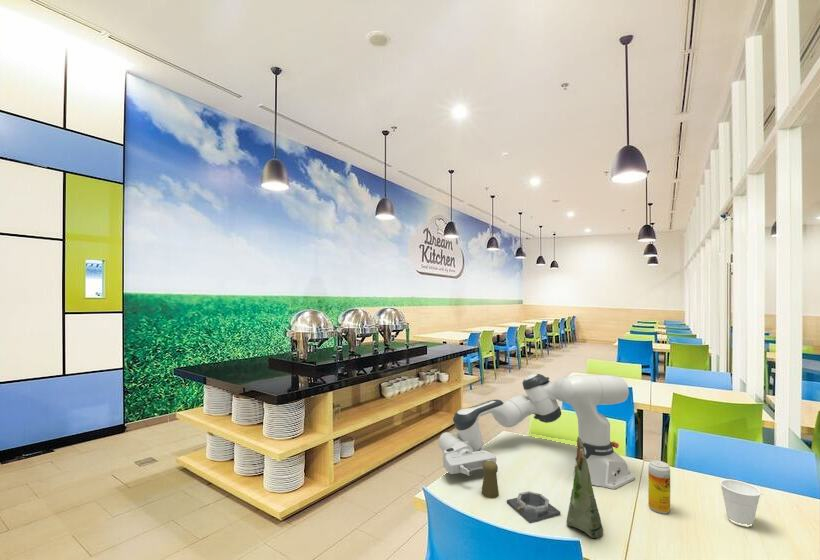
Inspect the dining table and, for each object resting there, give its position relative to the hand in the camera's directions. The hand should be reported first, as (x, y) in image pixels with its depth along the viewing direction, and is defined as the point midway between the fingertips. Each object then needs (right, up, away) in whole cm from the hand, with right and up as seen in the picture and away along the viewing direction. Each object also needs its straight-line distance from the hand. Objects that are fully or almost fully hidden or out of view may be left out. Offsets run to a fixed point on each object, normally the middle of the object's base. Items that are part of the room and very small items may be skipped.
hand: (481, 471), depth 143 cm
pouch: (+27, -6, -23) cm, 36 cm away
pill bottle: (+56, -6, -13) cm, 58 cm away
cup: (+77, -6, -20) cm, 80 cm away
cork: (+2, -6, -5) cm, 8 cm away
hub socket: (+14, -6, -14) cm, 21 cm away
